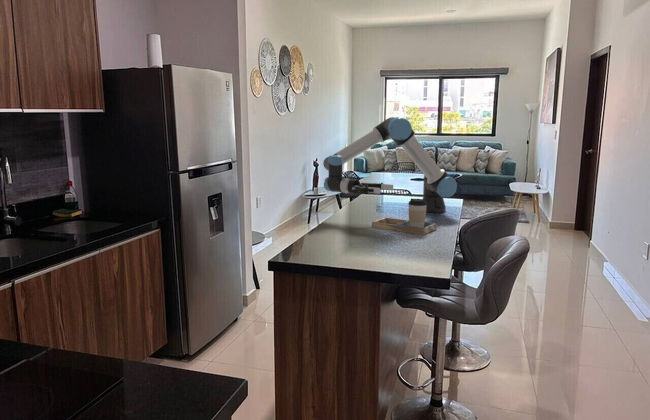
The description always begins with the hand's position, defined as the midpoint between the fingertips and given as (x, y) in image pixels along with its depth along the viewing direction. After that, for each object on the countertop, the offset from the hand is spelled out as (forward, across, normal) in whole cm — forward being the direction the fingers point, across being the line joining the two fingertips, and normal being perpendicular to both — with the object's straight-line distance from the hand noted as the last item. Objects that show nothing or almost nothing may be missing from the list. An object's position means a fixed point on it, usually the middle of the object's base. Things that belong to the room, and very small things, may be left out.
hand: (386, 189), depth 243 cm
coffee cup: (+17, 0, -19) cm, 25 cm away
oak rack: (+10, 0, -19) cm, 21 cm away
